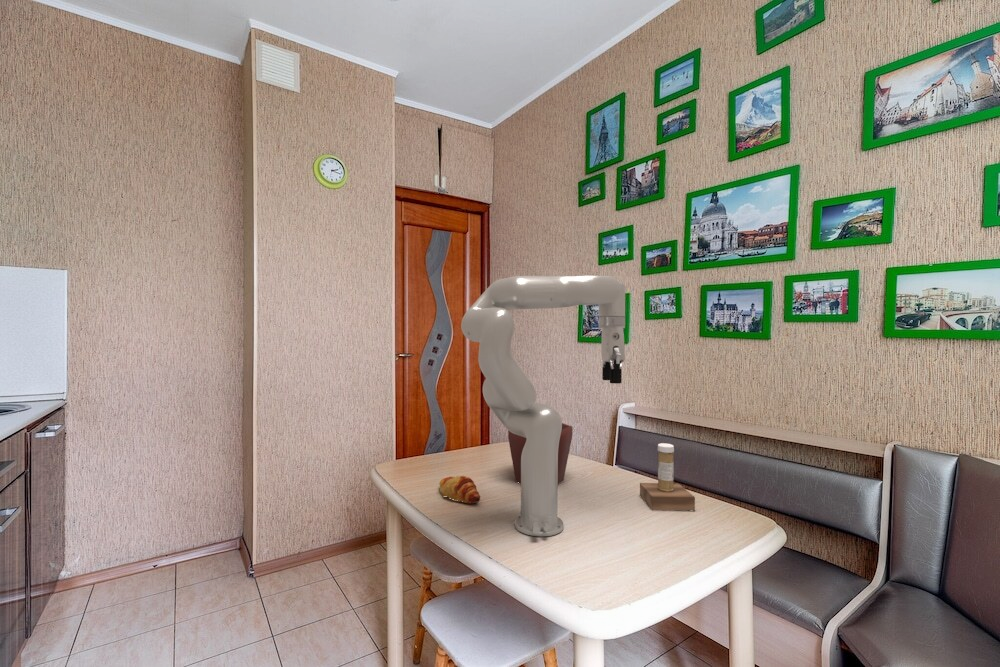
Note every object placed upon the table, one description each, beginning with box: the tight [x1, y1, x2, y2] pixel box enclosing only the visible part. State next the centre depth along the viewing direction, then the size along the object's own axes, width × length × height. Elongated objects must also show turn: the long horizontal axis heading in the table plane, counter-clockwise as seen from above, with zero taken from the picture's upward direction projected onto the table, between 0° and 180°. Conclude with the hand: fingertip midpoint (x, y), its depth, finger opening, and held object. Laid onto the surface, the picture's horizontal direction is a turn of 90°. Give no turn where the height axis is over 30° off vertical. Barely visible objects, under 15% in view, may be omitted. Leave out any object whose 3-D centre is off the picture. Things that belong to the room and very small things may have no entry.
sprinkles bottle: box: [657, 442, 675, 492], centre depth 132 cm, size 5×5×14 cm
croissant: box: [439, 475, 481, 504], centre depth 137 cm, size 21×10×8 cm, turn 39°
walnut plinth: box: [639, 482, 696, 511], centre depth 132 cm, size 12×12×4 cm
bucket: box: [507, 422, 574, 485], centre depth 154 cm, size 24×22×25 cm
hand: (611, 381), depth 130 cm, fingers open, 9 cm apart
